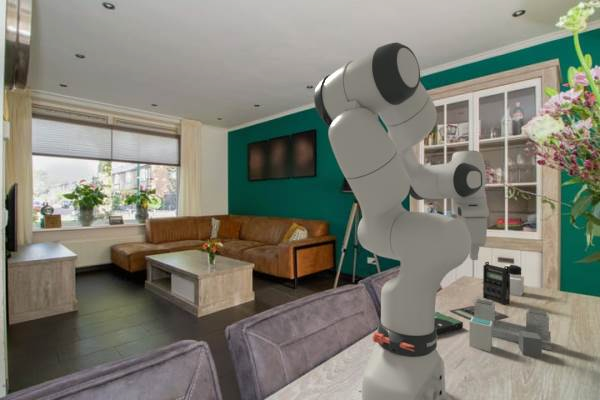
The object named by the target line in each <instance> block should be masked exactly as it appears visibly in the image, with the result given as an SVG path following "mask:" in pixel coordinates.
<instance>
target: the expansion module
mask: <svg viewBox="0 0 600 400" xmlns="http://www.w3.org/2000/svg"><path fill="white" fill-rule="evenodd" d="M468 344H469V347H472V348H474V349H479V350H483V351H486V352H490V353H491V350H492V347H493V336H492V321H488V320H483V319H479V318H474V317H472V318H471V320H469V343H468Z"/></svg>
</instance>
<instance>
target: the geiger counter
mask: <svg viewBox="0 0 600 400" xmlns="http://www.w3.org/2000/svg"><path fill="white" fill-rule="evenodd" d="M506 267H507V268H506ZM482 271H483V275H482V277H483V279H482V280H483V281H482V284H483V285H482V291H483V292H482V298H483V299H484V298H486V299H485V300H487V301H491V300H492V301H491V302H495V303H498V304H501V305H503V306H507V305H510V303H511V301H510V299H511V298H510V297H511V294H510V269H508V266H505V265H504V267H501V266H497V265H492V264H490V262H489V261H485V262H484V265H483V270H482Z"/></svg>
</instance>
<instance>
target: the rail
mask: <svg viewBox="0 0 600 400" xmlns="http://www.w3.org/2000/svg"><path fill="white" fill-rule="evenodd" d="M473 306H474V318H479V319H483V320H488V321H492V338H493V337H494V338H498V339H502V340H506V341H509V342H510V341H511V342H514V343H518V344H519V331H526V332H533V333H537V334H538V335H539V336H540V338H541V339H542V350H547V351H552V340H551V337H552V336H551V331H550V316H549V312H548V311H544V310H538V309H532V308H526V311H525V312H526V313H525V319H526V320H525V325H522V324H517V323H514V322H513V323H512V322H510V321H509V322H508V321H505V320H504V321H503V320H501V319H499V320H495V310H496V309H495V307H496V302H494V301H491V300H486V299H485V300H484V299H478V298H476V299H475V301H474V304H473Z"/></svg>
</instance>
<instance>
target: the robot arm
mask: <svg viewBox="0 0 600 400" xmlns="http://www.w3.org/2000/svg"><path fill="white" fill-rule="evenodd" d="M313 98H314V100H313V101H314V106H315V109H316V112H317V114H318V116H319V117H320V119H321V120H322V121H323V123H324V124H325V125H326V126H327V127H328V132H327V133H328V140H329V143H330V146H331V150H332V152H333V154H334V157H335V159H336V161H337V164H338V166H339V169H340V170H341V172H342V174H343V176H344V177H345V179H346V181H347V184H348V185H349V188H351V191H352V193H353V195H354V196H355V198H356V201H357V202H358V204H359V207H360V210H361V216H362V218H361V219H360V221H359V223H358V227H357V232H356V233H357V239H358V242H359V244H360V245H361V247H362V248H363V249H365V250H366V251H369V252H370V253H372V254H374V255H376V256H379V257H382V258H386V259H390V260H391V259H392V260H394V261H395V260H396V261H399V262H400V265H399V266H400V267H399V271H398V274H397V276H395V277H392V278H391V279H388V280H387V281H386V282H385V283H384V284H383V286H382V287H381V290H380V320H379V321H378V326H377V329H376V330H377V331H374V333H373V336H372V341H373V343H375V344H374V347H373V349H372V351H371V354H370V356H369V360H368V362H367V365H366V367H365V370H364V373H363V376H362V378H361V380H360V382H359V383H358V386H357V388H356V389H355V392H354V393H353V396H352V398H351V399H350V400H454V399H453V398H452V396H451V395H449V394H448V393H447V392H446V372H445V361H444V359H443V358H442V357H441V355H440V354H439V352H438V350H437V345H438V336H437V332H436V328H435V326H434V320H435V312H436V300H437V299H436V298H437V293H438V289H439V287H440V285H441V283H442V281H443V279H444V278H445V277H446V276H447V275H448V274H449V273H450V272H452V271H453V270H455V269H456V268H458V267H460V266H461V265H462V264H464V263H465V261H467V259H468V257H469V259H470V260H471V261H478V260H479V253H480V247H484V246H485V245H486V243H487V232H488V231H487V230H488V219H487V218H488V217H490V209H489V207H488V204H487V200H488V199H487V194H486V191H485V187H486V184H487V176H486V175H487V174H486V166H485V160H484V156H483V153H482V152H480V151H477V150H460V151H456V152H454V153H452V155H451V160H450V161H448V162H446V163H440V164H422V163H420V162H419V160H418V158H417V156H416V154H415V152H414V149H413V147H414V146H416V145H418V144H420V143H422V142H423V141H424V140H425V139H426V138H427V137H428V136H429V135H430V133H431V132H432V131H433V129H434V127H435V125H436V122H437V116H438V113H437V109H436V106H435V103H434V101H433V99H432V98H431V96H430V95H429V93H428V91H427V90H426V88H425V87H424V85H423V84H422V82H421V71H420V64H419V62H418V59H417V57H416V55H415V53H414V52H413V50H412V49H411V48H410V47H408V46H406V45H404V44H402V43H400V42H392V43H388V44H384V45H382V46H381V45H380V46H378V47H377V48H376V49H375V50H374V51H372V52H369V53H367V54H364V55H362V56H360V57H357V58H356V59H354V60H351V61H349V62H347V63H345V64H344V65H342V66H341V67H339V68H337V69H336V70H335V71H334V72H332V73H331V74H328V75H326V76H325V77H324V78H322V79H321V80H320V81H319V82H318V84H317V86H316V87H315V89H314V95H313ZM379 117H380V119H381V120H382V122H383V124H384V126H385V127H386V129H387V130H386V129H385V128H384V126H383V124H382V123H381V121H379ZM408 195H410V197H412V198H413V200H414V199H415V200H416V201H424V200H432V199H433V200H436V199H437V200H439V199H441V200H443V199H444V200H445V199H446V200H447V199H448V200H449V199H451V200H450V202H451V204H450V205H451V215H456V218H455V217H452V216H449V215H446V214H441V213H437V212H422V211H421V212H420V211H409V210H407V209H406V208H404V206H403V204H402V202H404V200H405V199H406V198H407V196H408Z"/></svg>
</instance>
